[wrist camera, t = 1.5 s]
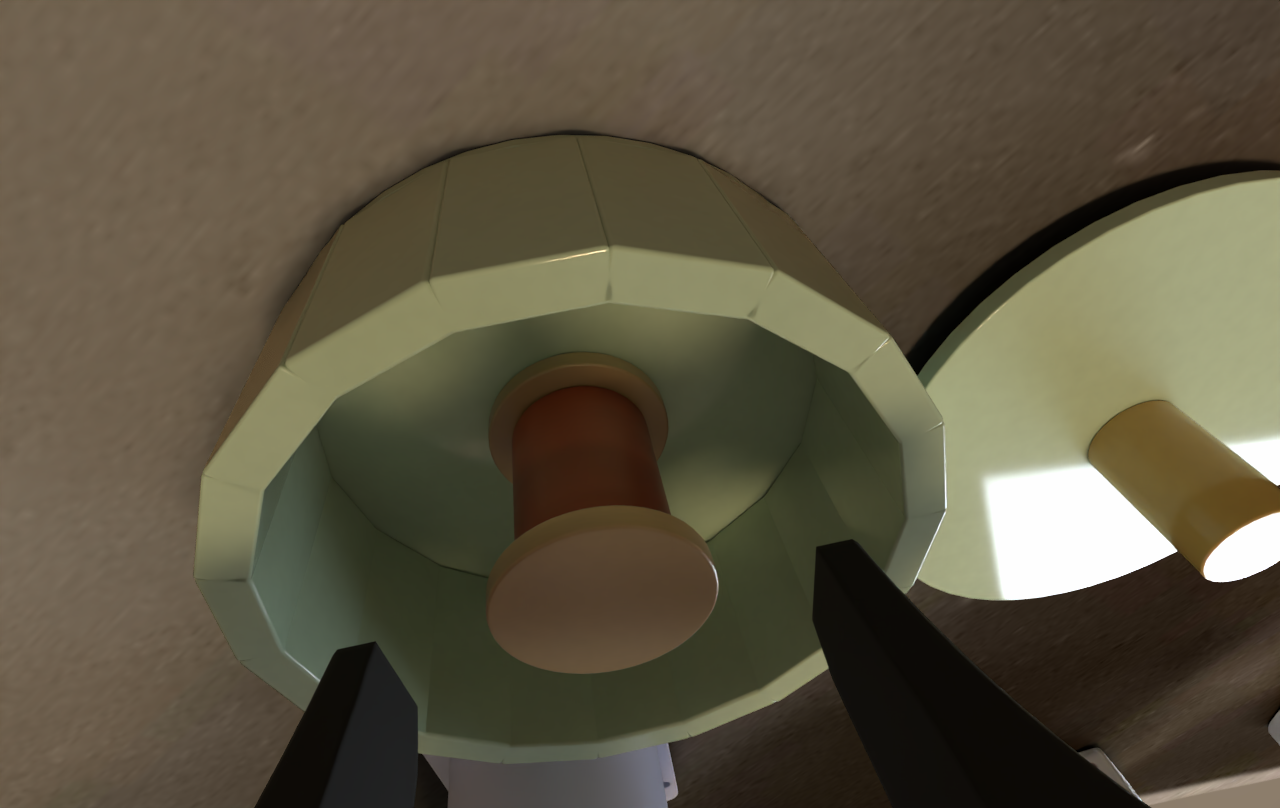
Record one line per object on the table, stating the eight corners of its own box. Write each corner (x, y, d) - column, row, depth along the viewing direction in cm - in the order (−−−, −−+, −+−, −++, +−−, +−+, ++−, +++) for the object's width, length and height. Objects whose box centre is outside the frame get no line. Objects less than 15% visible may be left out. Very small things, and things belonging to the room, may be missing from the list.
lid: (1233, 524, 23) (1377, 652, 20) (848, 609, 23) (919, 758, 19) (1490, 108, 15) (1830, 189, 11) (889, 223, 14) (1032, 351, 11)
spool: (672, 470, 17) (724, 648, 13) (512, 503, 17) (517, 694, 13) (654, 334, 15) (712, 503, 11) (466, 371, 14) (454, 558, 10)
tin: (830, 535, 20) (907, 690, 16) (395, 628, 20) (370, 812, 16) (862, 76, 12) (1025, 167, 9) (141, 205, 12) (-29, 366, 8)
